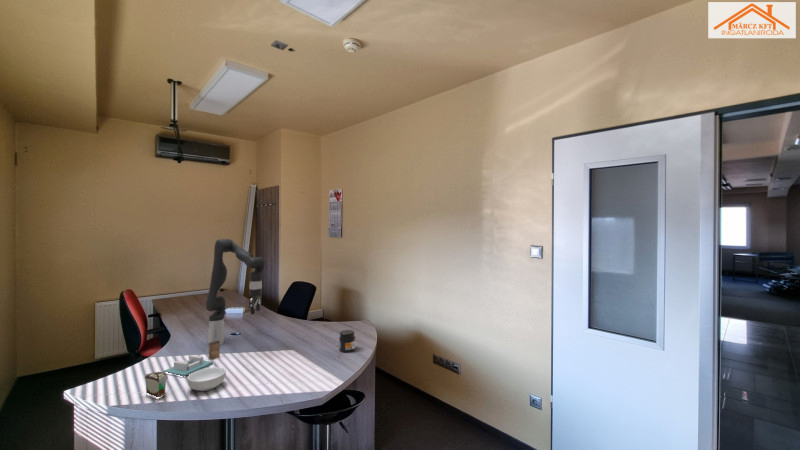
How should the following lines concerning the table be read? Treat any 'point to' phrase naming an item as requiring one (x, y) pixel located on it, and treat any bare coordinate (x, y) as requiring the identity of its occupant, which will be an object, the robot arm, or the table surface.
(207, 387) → the cereal bowl
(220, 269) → the robot arm
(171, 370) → the dish
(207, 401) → the table surface
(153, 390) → the food container
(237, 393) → the table surface
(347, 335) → the supplement container
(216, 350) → the brown upright block
